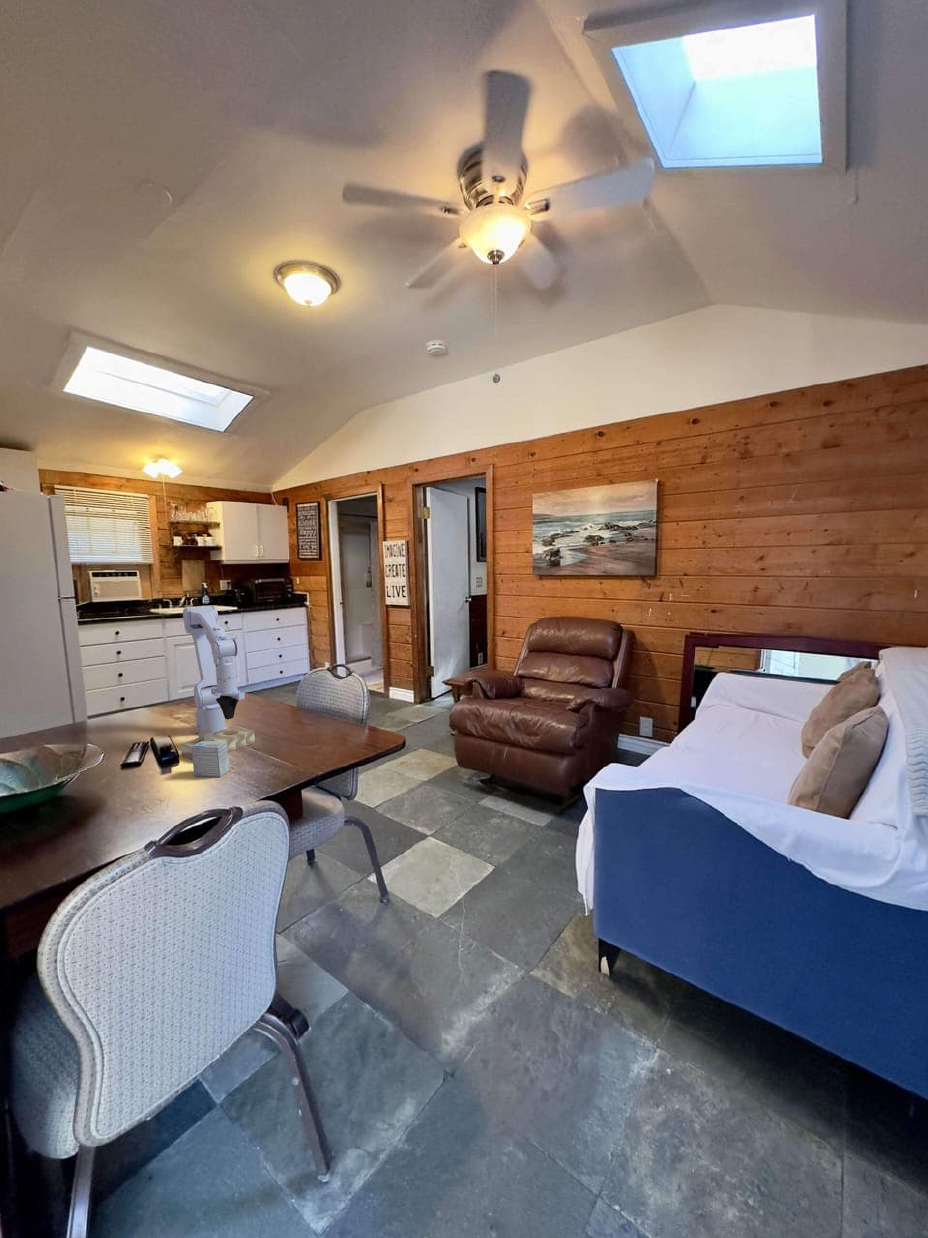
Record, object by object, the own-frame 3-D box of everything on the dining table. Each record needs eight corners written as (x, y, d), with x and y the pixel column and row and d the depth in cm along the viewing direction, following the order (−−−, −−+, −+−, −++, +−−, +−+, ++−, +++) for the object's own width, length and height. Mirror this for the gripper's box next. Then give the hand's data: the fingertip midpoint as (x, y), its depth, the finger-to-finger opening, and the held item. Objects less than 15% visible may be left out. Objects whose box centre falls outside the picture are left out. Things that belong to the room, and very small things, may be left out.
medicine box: (230, 770, 135) (227, 741, 134) (220, 777, 130) (218, 747, 129) (203, 769, 135) (201, 740, 134) (193, 776, 131) (191, 746, 130)
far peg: (229, 746, 152) (228, 734, 152) (224, 744, 154) (223, 732, 153) (238, 743, 155) (237, 731, 154) (232, 741, 156) (231, 729, 156)
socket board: (201, 762, 140) (200, 749, 140) (181, 756, 145) (180, 743, 145) (254, 742, 156) (254, 730, 155) (235, 737, 161) (234, 725, 160)
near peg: (204, 746, 145) (203, 733, 144) (199, 744, 146) (198, 732, 146) (214, 743, 147) (213, 730, 147) (208, 741, 149) (207, 729, 148)
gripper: (200, 677, 152) (203, 718, 153) (228, 682, 144) (231, 725, 146) (221, 672, 158) (224, 712, 159) (249, 677, 151) (252, 719, 152)
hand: (229, 718), depth 153 cm, fingers closed
